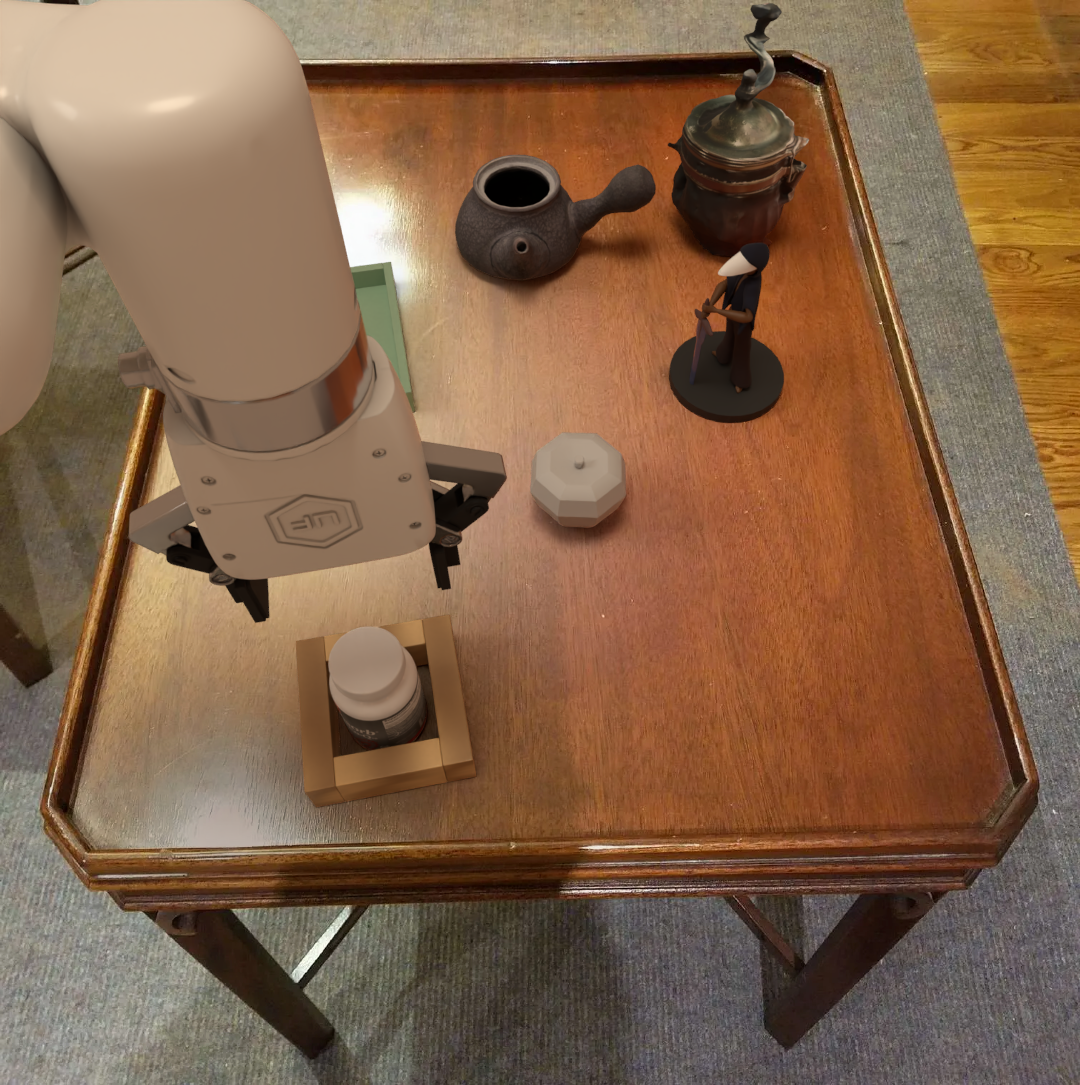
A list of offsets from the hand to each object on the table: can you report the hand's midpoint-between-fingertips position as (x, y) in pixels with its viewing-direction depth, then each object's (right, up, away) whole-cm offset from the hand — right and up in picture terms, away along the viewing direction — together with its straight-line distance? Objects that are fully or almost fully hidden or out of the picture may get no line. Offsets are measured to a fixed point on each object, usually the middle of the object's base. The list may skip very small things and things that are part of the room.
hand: (352, 582), depth 49 cm
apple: (+13, +5, +26) cm, 29 cm away
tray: (-10, +19, +35) cm, 41 cm away
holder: (-1, -10, +16) cm, 19 cm away
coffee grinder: (+28, +35, +44) cm, 63 cm away
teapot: (+11, +31, +42) cm, 53 cm away
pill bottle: (-1, -10, +16) cm, 19 cm away
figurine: (+27, +17, +33) cm, 46 cm away
